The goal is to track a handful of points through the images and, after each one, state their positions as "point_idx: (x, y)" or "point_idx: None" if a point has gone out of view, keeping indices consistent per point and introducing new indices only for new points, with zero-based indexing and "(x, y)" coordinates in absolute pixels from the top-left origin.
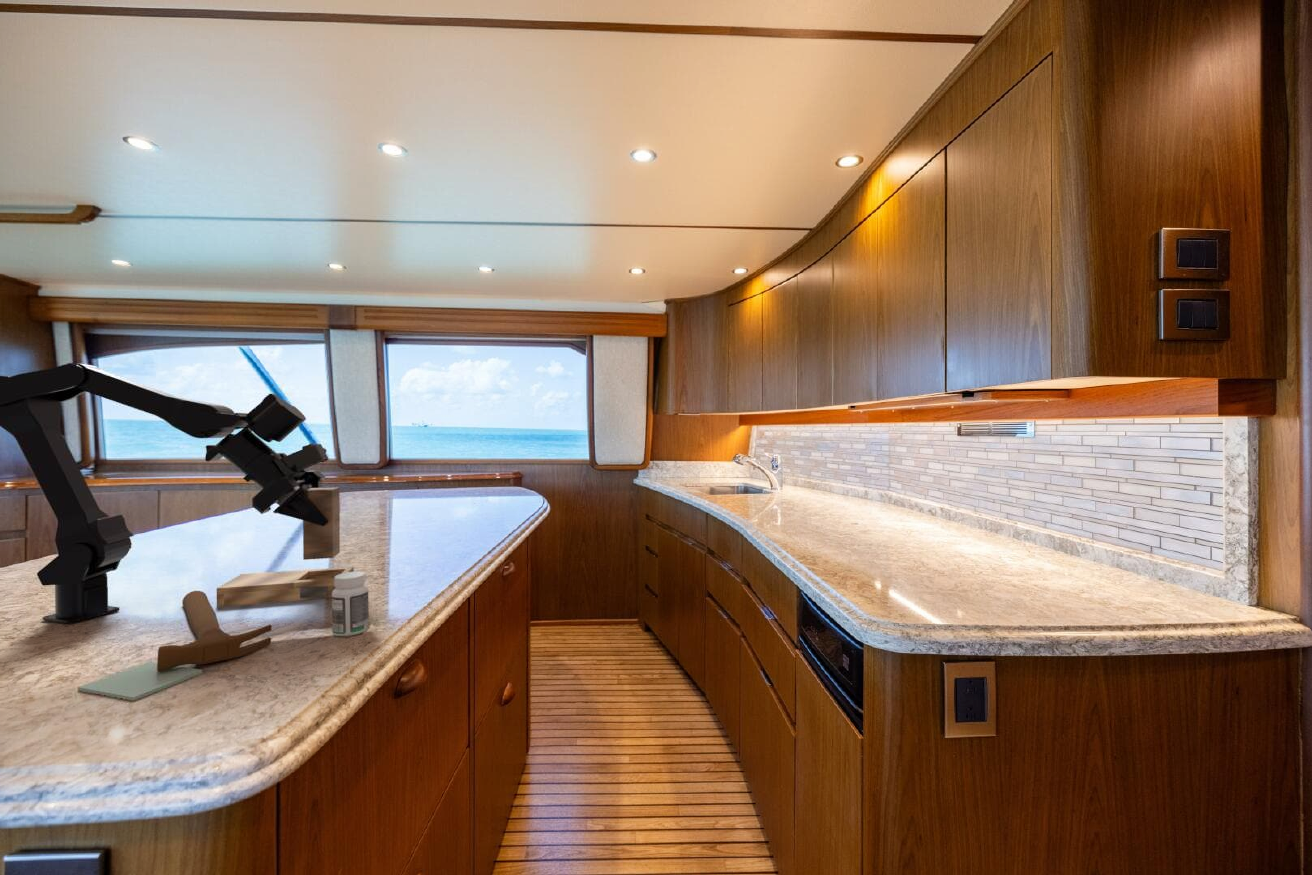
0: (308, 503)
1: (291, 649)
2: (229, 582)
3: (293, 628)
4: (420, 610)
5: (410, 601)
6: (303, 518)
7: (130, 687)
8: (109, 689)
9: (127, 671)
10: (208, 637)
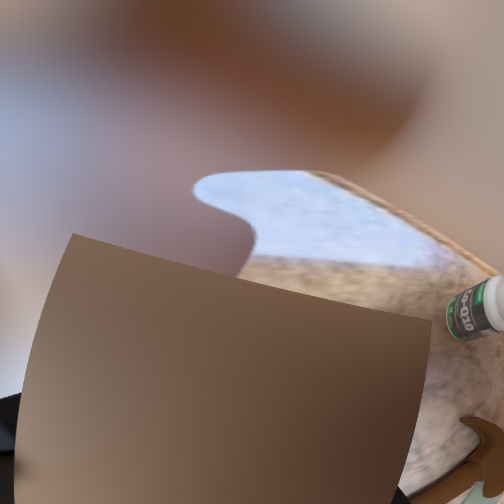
0: (404, 499)
1: (486, 381)
2: None
3: (420, 406)
4: (407, 222)
5: (356, 228)
6: None
7: None
8: (495, 501)
9: None
10: (492, 467)
